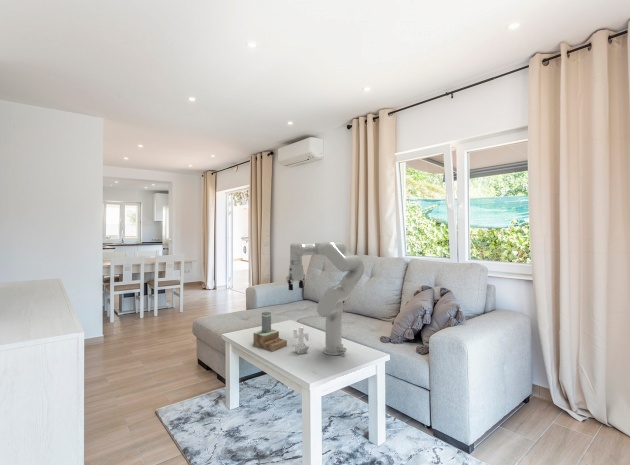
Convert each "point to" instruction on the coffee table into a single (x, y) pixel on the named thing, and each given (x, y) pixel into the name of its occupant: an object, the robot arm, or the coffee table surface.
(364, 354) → the coffee table surface
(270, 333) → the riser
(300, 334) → the figurine
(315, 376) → the coffee table surface
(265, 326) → the column
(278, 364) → the coffee table surface
